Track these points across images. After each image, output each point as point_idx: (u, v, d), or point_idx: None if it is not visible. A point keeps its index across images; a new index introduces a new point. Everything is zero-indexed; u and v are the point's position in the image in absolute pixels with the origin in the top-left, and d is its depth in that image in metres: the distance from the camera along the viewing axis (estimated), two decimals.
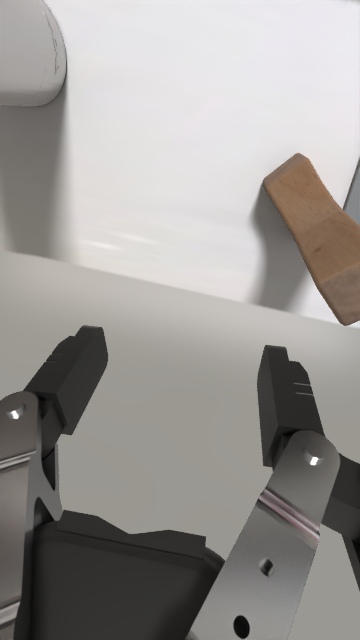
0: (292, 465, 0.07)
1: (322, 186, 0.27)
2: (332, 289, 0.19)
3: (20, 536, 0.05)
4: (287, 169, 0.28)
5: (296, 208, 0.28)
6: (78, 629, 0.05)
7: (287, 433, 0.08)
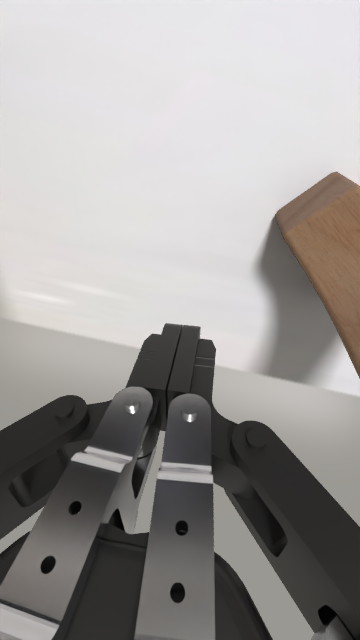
0: (177, 431, 0.08)
1: None
2: None
3: (85, 550, 0.05)
4: (321, 203, 0.16)
5: (337, 270, 0.17)
6: (77, 629, 0.05)
7: None
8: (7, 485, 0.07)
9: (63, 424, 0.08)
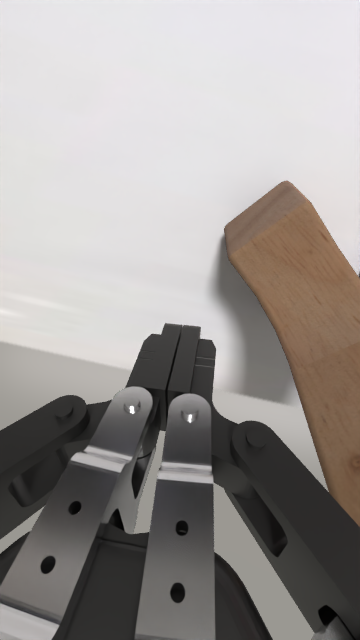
0: (177, 431, 0.08)
1: (339, 257, 0.13)
2: None
3: (85, 550, 0.05)
4: (268, 221, 0.14)
5: (289, 296, 0.14)
6: (78, 629, 0.05)
7: None
8: (7, 485, 0.07)
9: (63, 424, 0.08)
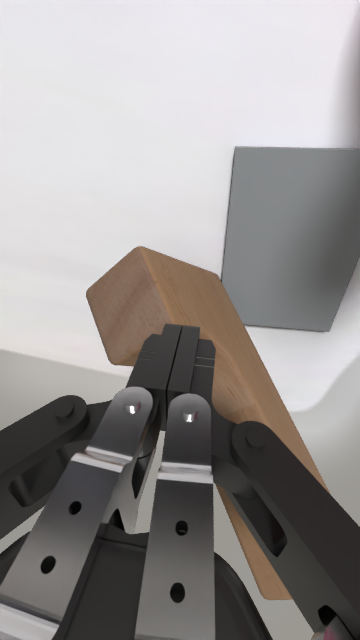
0: (177, 430, 0.08)
1: (209, 339, 0.15)
2: None
3: (85, 550, 0.05)
4: (139, 334, 0.13)
5: None
6: (77, 629, 0.05)
7: None
8: (7, 485, 0.07)
9: (63, 424, 0.08)
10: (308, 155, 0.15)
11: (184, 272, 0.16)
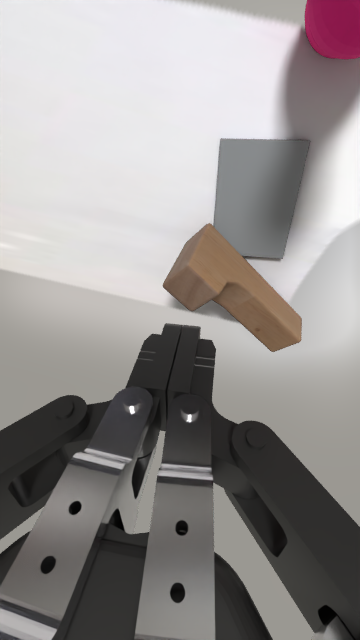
0: (177, 430, 0.08)
1: (229, 282, 0.30)
2: None
3: (85, 550, 0.05)
4: (203, 299, 0.29)
5: None
6: (78, 630, 0.05)
7: None
8: (7, 485, 0.07)
9: (63, 424, 0.08)
10: (260, 143, 0.28)
11: (204, 253, 0.29)
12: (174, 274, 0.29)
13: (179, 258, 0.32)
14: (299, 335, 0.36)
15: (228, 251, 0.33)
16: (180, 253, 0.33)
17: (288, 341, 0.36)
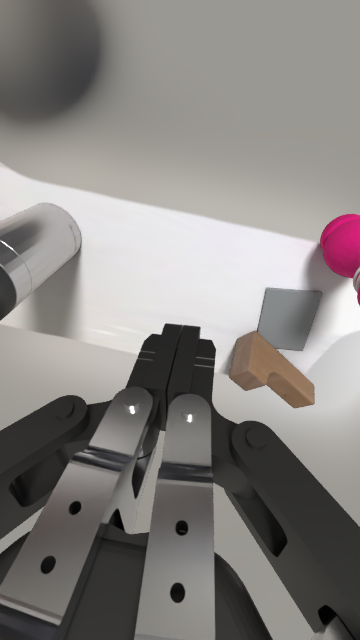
0: (177, 430, 0.08)
1: (270, 373, 0.48)
2: None
3: (85, 550, 0.05)
4: (255, 386, 0.47)
5: None
6: (78, 628, 0.05)
7: None
8: (7, 485, 0.07)
9: (63, 424, 0.08)
10: (291, 293, 0.46)
11: (256, 357, 0.47)
12: (238, 372, 0.46)
13: (237, 355, 0.49)
14: (313, 400, 0.53)
15: (268, 349, 0.50)
16: (236, 349, 0.51)
17: (306, 403, 0.53)
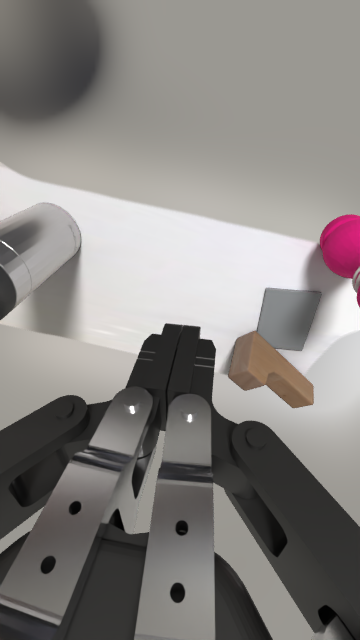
0: (177, 430, 0.08)
1: (269, 373, 0.48)
2: None
3: (85, 550, 0.05)
4: (254, 386, 0.47)
5: None
6: (78, 629, 0.05)
7: None
8: (7, 485, 0.07)
9: (63, 424, 0.08)
10: (291, 293, 0.46)
11: (255, 357, 0.47)
12: (237, 372, 0.46)
13: (236, 355, 0.50)
14: (312, 400, 0.53)
15: (267, 349, 0.50)
16: (235, 349, 0.51)
17: (305, 403, 0.54)
